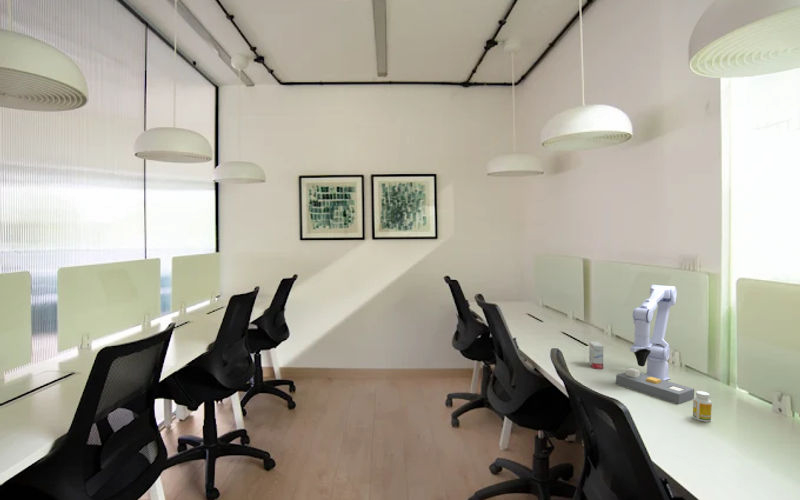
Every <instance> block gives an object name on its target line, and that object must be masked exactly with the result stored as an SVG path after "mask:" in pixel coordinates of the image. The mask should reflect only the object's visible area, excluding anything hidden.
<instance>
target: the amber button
mask: <svg viewBox="0 0 800 500" xmlns="http://www.w3.org/2000/svg"><path fill="white" fill-rule="evenodd" d="M646 381H647V382H651V383H654V384H658V383H661V379H657V378H654V377H649V378H646Z"/></svg>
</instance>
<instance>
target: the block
mask: <svg viewBox="0 0 800 500" xmlns="http://www.w3.org/2000/svg"><path fill="white" fill-rule="evenodd" d="M625 372H626V375H627V376H631V377H634V378H636V377H639V376H640V373H641V371H640V369H636V368H632V367H630V368H625Z"/></svg>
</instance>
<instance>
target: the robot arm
mask: <svg viewBox="0 0 800 500" xmlns="http://www.w3.org/2000/svg"><path fill="white" fill-rule="evenodd" d="M677 291H678V290H677V287H676V286H674V285H663V284H662V285H658V284H651V286H650V287H649V297H648V298H645V299H644V300H643V302H641V304H640V305H639V307H636V308H633V311H632V319H633V325H634V343H633V344H632V346H630V348H629V350H630V352H632V353H633V354H634V356H635V358H636V362H637V365H638V366H639V367H645V365H646V375H648V376H652V377H655V378H659V379H662V380H665V381H669V380H671V377H669V368H670V367H669V366H670V365H669V363H668V360H669V359H670V357H671V355H670V354H671V346H670V344H669V343H668V342H667V341H666V340H665V337H666V332H667V328H668V327H667V326H668V321H669V315H670V310H671V307H673V306H675V305H676V301H677V296H678V292H677ZM656 309H657V311H656ZM655 311H656V314H655V315H656V316H655V321H654V327H653V332H652V335H650V333H651V327H650V326H651V322H652V320H653V317H654V313H655ZM650 336H651V337H650Z"/></svg>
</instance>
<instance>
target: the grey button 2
mask: <svg viewBox="0 0 800 500" xmlns="http://www.w3.org/2000/svg"><path fill="white" fill-rule="evenodd" d="M670 389H674V390H677V391H681V390H684V389H681V388H678V387H675V386H672V387H670Z"/></svg>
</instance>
